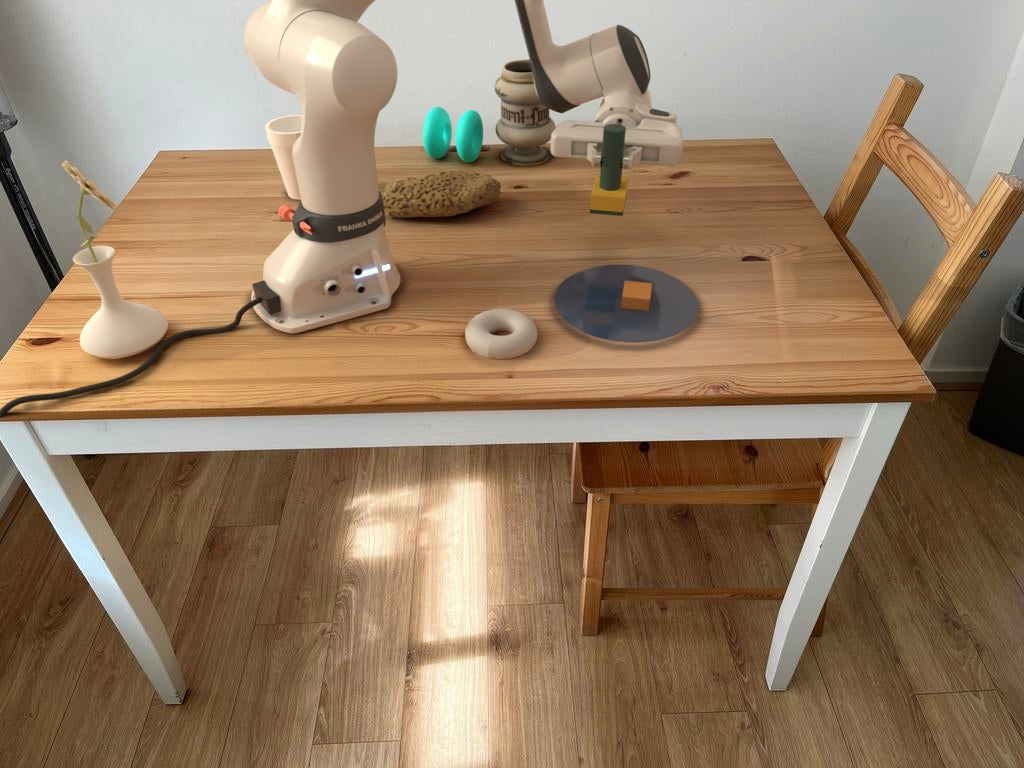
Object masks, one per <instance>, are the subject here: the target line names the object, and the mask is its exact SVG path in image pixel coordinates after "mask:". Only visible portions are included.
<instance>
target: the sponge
mask: <svg viewBox="0 0 1024 768" xmlns="http://www.w3.org/2000/svg"><path fill="white" fill-rule="evenodd" d="M501 188H502V185H501V182H500V181H499V180H497V179H495V178H494V177H491V175H490V174H488V173H484V172H477V171H467V170H461V171H458V170H448V171H443V170H442V171H439V172H436V173H430V174H428V175H425V176H424V177H419V178H417V177H415V176H411V177H407V178H405V179H400V180H394V181H389V182H388V183H387V184H386V185H385V186H384V192H383V193H381V194H382V198H383V204H384V210H385V214H386V215H387V216H388V217H393V218H403V219H404V218H406V219H407V218H408V219H412V218H421V217H422V218H430V217H431V218H440V217H441V218H442V217H455V216H456V215H461V214H466V213H469V212H470V211H473V210H475V209H478V208H481V207H485V206H487V205H490V204H491V203H492V202H494V201H496V200H497V199H498V198H499V197H500V195H502V191H501Z"/></svg>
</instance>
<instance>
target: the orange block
mask: <svg viewBox="0 0 1024 768" xmlns="http://www.w3.org/2000/svg"><path fill="white" fill-rule="evenodd" d="M651 289H652V283H644V282H634V281H625V283H624V289H623V294H622V303H621V308H625V309H635V310H645V311H649V306H650V298H651Z"/></svg>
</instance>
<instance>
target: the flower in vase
mask: <svg viewBox="0 0 1024 768" xmlns="http://www.w3.org/2000/svg"><path fill="white" fill-rule="evenodd" d="M61 166H62V167H63V169H64V170H65V171H66V172H67V174H68V175H69V176H70V177H71V178H72V179H73V180H74V181H75V182H76V183H77V184H79V185H80V186H79V190H80V195H79V200H78V211H77V215H78V216H76V220H77V222H78V225H79V227H80V230H81V233H82V235H83V238H84V242H83V243H82V244H81V245H80V248H81V247H84V246H86V245H87V247H85V248H84V249H81V250H79V251H77V252H76V254H74V256H72V261H73V263H75V264H76V265H78V266H79V267H81V268H82V269H84V270H85V272H86V273H88V275H89V276H90V278H91V280H92V281H93V283H94V284H95V287H96V289H97V291H98V293H99V296H100V301H101V305H100V308H99V309H98V311H96V312H95V313H94V314H93V315H92V316H91V318H89V320H88V321H87V322H86V323H85V325H84V327H83V328H82V330H81V332H80V335H79V345H80V347H81V349H82V350H83V351H84V352H85V353H87V354H89V355H91V356H93V357H95V358H99V359H106V360H109V359H110V360H111V359H113V360H115V359H122V358H127V357H128V358H129V357H131V356H135V355H138V354H141V353H143V352H146V351H147V350H150V349H151V348H153V347H154V346H155V345H157V344H158V343H159V342H160V341H161V340H162V339H163V338H164V337H165V335H166V333H167V330H168V327H169V321H168V319H167V317H166V316H165V315H164V314H163V313H162V312H161V311H160V310H159V309H157V308H154V307H151V306H149V305H146V304H142V303H137V302H132V301H129V300H126V299H124V298H123V297H122V295H121V294H120V292H119V290H118V287H117V285H116V282H115V277H114V274H113V260H114V257H115V255H116V250H115V248H114V247H112V246H109V245H95V246H92V245H91V242H92V241H93V240H95V239H96V238H98V237H99V236H100V235H98V234H97V235H90V236H89V238H88V236H87V233H89V234H93V233H94V229H93V227H92V225H90V224H89V222H88V221H86V219H85V218H84V217H83V216H82V211H83V209H82V208H83V202H84V196H88V195H89V196H90V195H91V196H92V197H94V199H96V201H98V202H99V203H101V204H102V205H103V206H104V207H106V208H107V209H109V210H112V211H115V210H117V209H116V208H118V207H119V206H118V204H116V203H115V202H113V201H112V198H111V196H109V195H108V194H106V193H104V192H103V191H101V190H99V189H97V184H96V183H95V182H93V180H91V179H88V180H87V179H86V177H85V176H84V175H83V173H82V172H81V171H80V170H79V169H78V167H76V166H73V165H71V163H70V162H69V161H68V160H64V161H63V162H62V163H61ZM86 232H87V233H86Z"/></svg>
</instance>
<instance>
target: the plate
mask: <svg viewBox="0 0 1024 768" xmlns="http://www.w3.org/2000/svg"><path fill="white" fill-rule="evenodd" d="M625 281H634V282H644V283H652V289H651V298H650V306H649V311H645V310H635V309H625V308H621V303H622V294H623V289H624V283H625ZM553 299H554V300H553V301H554V307H555V309H556V311H557V313H558V314H559V316H560V317H561V319H562V320H564V321H565V322H566V323H567V324H568V325H570V326H571V327H572V328H574V329H576V330H578V331H580V332H581V333H583V334H586V335H589V336H592V337H594V338H598V339H602V340H605V341H611V342H616V343H617V342H618V343H630V344H631V343H634V344H635V343H636V344H637V343H650V342H656V341H660V340H665V339H669V338H671V337H674V336H676V335H678V334H680V333H681V332H684V331H685V330H687V329H688V328H689V327H690V326H691V325H692V324H693V323H694V322H695V320H696V319H697V316H698V314H699V310H700V309H699V308H700V307H699V306H700V305H699V301H698V298H697V296H696V294H695V293H694V292H693V290H692V289H691V288H690V287H689V286H688V285H687V284H686V283H685V282H683V281H681V280H680V279H678V278H677V277H675V276H673V275H672V274H669V273H667V272H664V271H662V270H658V269H655V268H651V267H647V266H641V265H635V264H634V265H633V264H607V265H598V266H593V267H589V268H585V269H583V270H581V271H578V272H576V273H574V274H572V275H570V276H568V277H567V278H565V279H564V280H563V281H561V284H559V286H558V287H557V288H556V291H555V293H554V297H553Z"/></svg>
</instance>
